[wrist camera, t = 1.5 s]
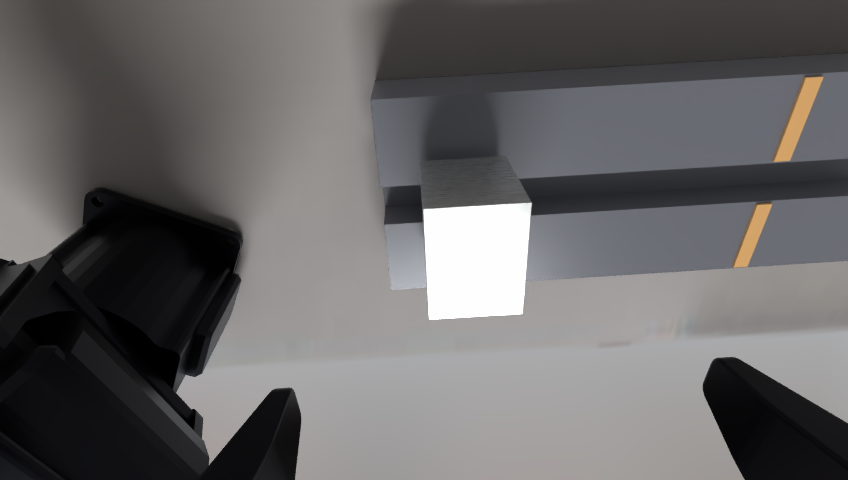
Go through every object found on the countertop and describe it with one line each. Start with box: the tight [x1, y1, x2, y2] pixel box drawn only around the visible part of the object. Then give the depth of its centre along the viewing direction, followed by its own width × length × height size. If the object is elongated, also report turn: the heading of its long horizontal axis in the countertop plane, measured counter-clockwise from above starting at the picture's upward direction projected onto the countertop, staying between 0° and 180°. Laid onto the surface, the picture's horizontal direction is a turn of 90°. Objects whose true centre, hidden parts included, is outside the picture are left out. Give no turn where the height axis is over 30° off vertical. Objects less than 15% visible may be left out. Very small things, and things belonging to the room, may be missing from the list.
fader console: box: [371, 53, 848, 290], centre depth 18 cm, size 20×8×3 cm, turn 93°
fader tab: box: [419, 156, 532, 320], centre depth 16 cm, size 3×4×6 cm
